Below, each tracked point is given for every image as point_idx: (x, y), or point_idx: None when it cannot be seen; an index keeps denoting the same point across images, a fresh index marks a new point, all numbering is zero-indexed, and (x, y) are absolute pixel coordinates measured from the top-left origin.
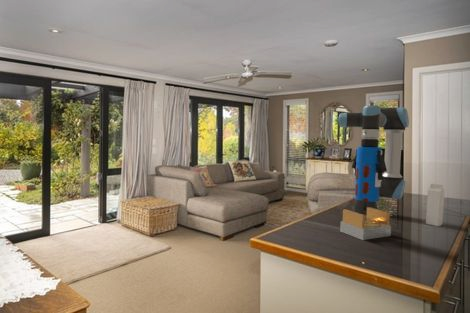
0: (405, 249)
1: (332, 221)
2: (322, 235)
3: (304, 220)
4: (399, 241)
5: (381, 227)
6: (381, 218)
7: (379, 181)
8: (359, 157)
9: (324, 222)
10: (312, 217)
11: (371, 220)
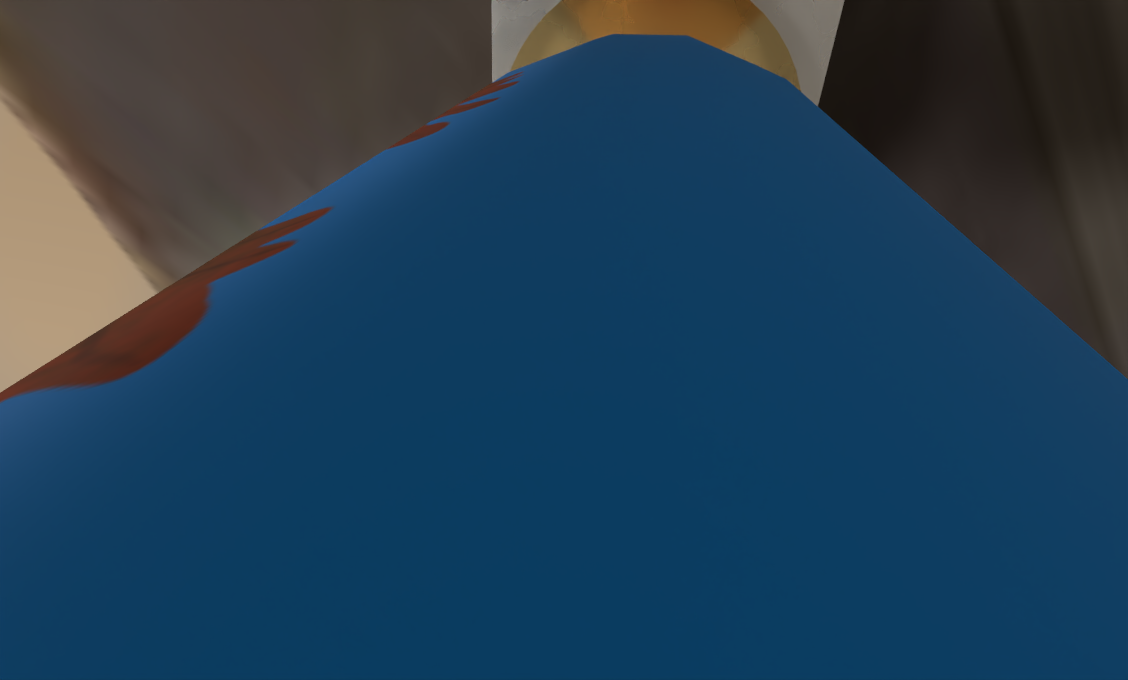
0: (1096, 184)
1: (229, 66)
2: None
3: (178, 278)
4: (982, 13)
5: (820, 89)
6: None
7: None
8: None
9: (253, 171)
10: (79, 141)
11: (644, 22)
